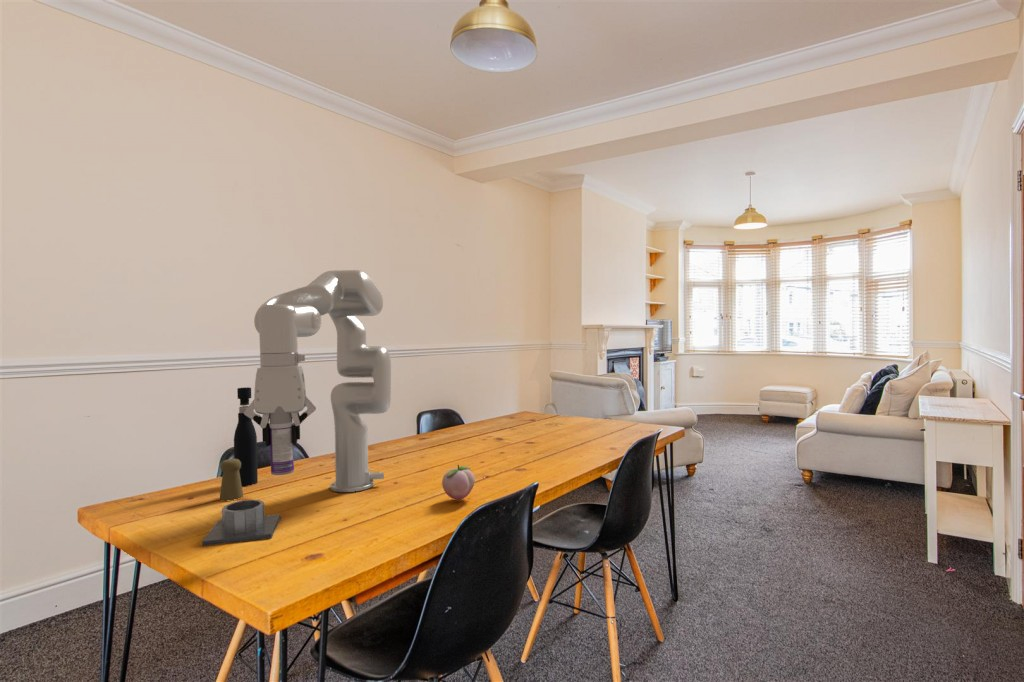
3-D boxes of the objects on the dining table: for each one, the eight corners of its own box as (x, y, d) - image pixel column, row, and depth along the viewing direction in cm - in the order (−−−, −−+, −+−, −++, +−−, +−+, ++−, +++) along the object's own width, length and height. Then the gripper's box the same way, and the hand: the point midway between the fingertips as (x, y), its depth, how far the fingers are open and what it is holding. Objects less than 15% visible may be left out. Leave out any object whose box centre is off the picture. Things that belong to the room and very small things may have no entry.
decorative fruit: (454, 494, 150) (453, 459, 150) (479, 497, 146) (478, 462, 146) (435, 504, 142) (434, 467, 141) (461, 507, 138) (461, 469, 138)
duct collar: (280, 517, 132) (280, 494, 132) (271, 538, 119) (270, 511, 119) (218, 524, 129) (218, 499, 129) (201, 545, 115) (201, 518, 115)
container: (275, 469, 118) (273, 403, 117) (297, 468, 118) (295, 402, 118) (267, 475, 113) (265, 406, 113) (290, 474, 113) (288, 405, 113)
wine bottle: (229, 485, 163) (227, 388, 163) (247, 480, 169) (245, 386, 169) (245, 487, 161) (243, 389, 160) (262, 481, 167) (260, 387, 166)
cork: (233, 501, 147) (232, 462, 146) (214, 500, 148) (213, 461, 148) (248, 495, 152) (247, 457, 152) (230, 494, 154) (229, 456, 154)
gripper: (321, 358, 121) (323, 437, 121) (240, 361, 116) (242, 443, 117) (319, 360, 114) (321, 444, 114) (232, 363, 109) (235, 451, 109)
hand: (281, 443), depth 115 cm, fingers closed on container, 4 cm apart
